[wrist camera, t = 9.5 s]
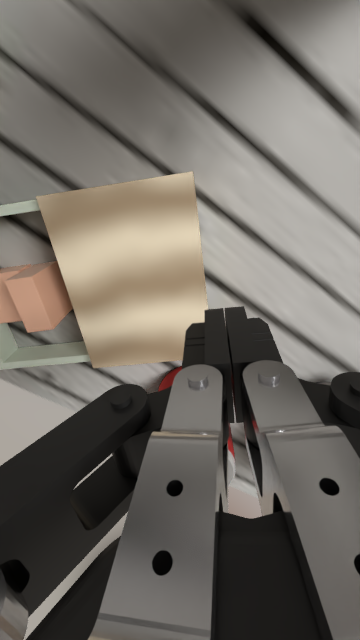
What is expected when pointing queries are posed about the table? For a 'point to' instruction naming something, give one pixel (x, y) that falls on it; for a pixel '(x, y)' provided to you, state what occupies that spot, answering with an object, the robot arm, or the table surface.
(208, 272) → the table surface
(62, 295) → the tile front
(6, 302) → the tile back
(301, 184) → the table surface
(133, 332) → the plate
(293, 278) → the table surface
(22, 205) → the tray
